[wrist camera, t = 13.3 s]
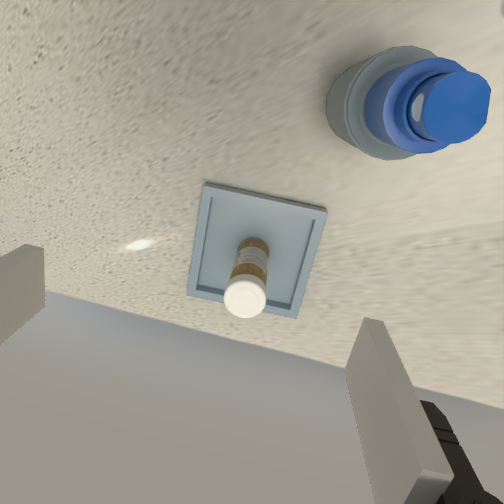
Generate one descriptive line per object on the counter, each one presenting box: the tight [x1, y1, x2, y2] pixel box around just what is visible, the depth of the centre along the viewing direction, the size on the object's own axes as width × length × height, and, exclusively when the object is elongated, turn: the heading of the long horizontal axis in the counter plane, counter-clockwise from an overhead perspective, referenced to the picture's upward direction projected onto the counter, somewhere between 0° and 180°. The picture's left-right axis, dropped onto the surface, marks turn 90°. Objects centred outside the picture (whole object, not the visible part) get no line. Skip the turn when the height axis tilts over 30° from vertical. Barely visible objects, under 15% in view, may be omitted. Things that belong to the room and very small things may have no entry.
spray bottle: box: [326, 46, 491, 160], centre depth 32 cm, size 9×9×25 cm
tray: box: [186, 182, 327, 319], centre depth 50 cm, size 16×16×2 cm
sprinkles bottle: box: [224, 238, 270, 318], centre depth 45 cm, size 5×5×14 cm
